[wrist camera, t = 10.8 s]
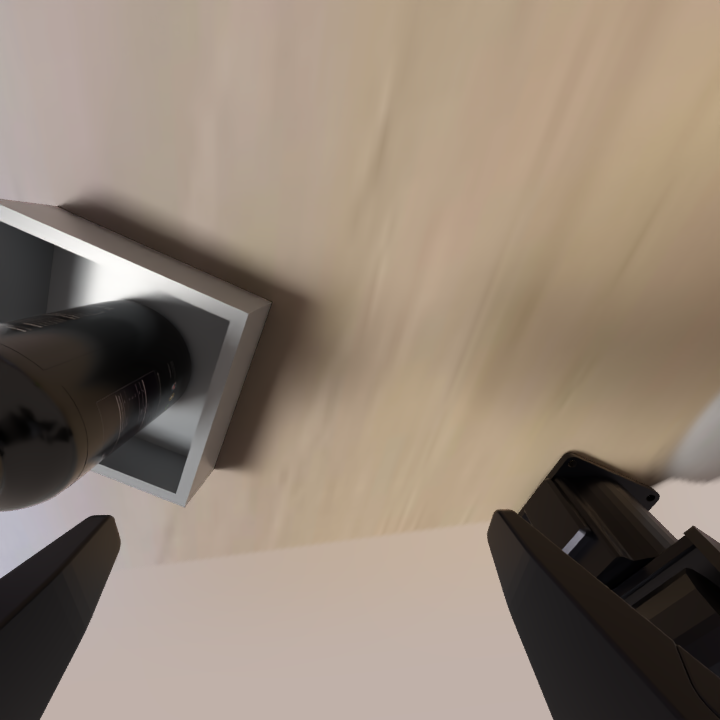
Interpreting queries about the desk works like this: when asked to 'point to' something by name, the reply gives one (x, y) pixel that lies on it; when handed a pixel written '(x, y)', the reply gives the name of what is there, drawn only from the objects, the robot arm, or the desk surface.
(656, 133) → the desk surface
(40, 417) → the supplement bottle
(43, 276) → the box
